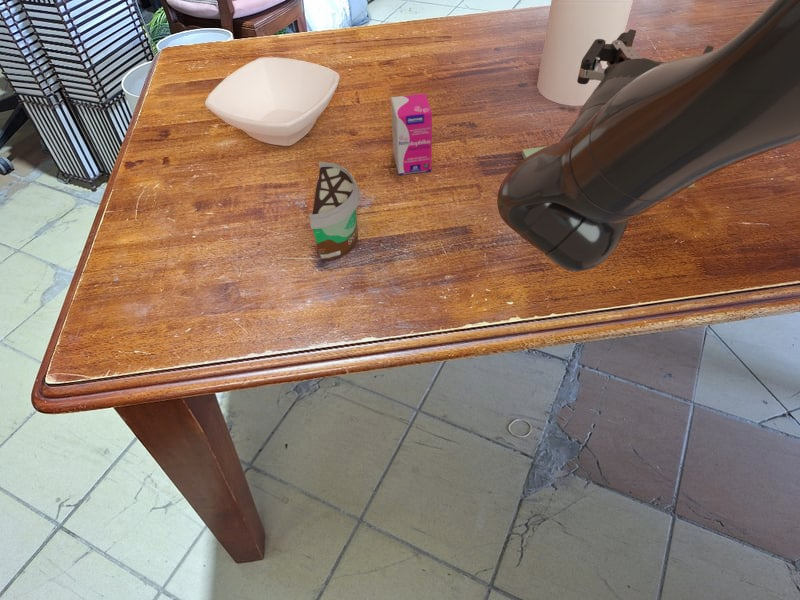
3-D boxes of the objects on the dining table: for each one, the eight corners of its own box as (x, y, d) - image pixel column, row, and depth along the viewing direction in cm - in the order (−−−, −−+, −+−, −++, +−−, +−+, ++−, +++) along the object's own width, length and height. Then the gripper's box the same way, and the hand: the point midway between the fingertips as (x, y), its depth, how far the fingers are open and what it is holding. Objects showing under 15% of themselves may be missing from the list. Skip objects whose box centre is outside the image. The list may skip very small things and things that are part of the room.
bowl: (205, 148, 96) (188, 106, 89) (269, 92, 108) (258, 51, 101) (300, 176, 90) (290, 132, 83) (358, 113, 101) (353, 70, 95)
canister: (533, 70, 109) (550, -39, 93) (599, 69, 108) (628, -42, 92) (541, 106, 100) (562, -7, 85) (614, 105, 100) (648, -10, 84)
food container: (362, 268, 76) (355, 216, 68) (320, 269, 76) (308, 217, 68) (367, 211, 84) (361, 158, 76) (328, 211, 84) (318, 159, 76)
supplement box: (398, 177, 89) (395, 116, 80) (393, 156, 92) (389, 95, 83) (432, 172, 89) (432, 111, 80) (425, 152, 93) (425, 91, 84)
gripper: (715, 98, 47) (750, 24, 55) (562, 61, 52) (615, -1, 60) (683, 168, 53) (719, 91, 61) (548, 128, 58) (599, 63, 66)
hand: (668, 45), depth 61 cm, fingers open, 8 cm apart
